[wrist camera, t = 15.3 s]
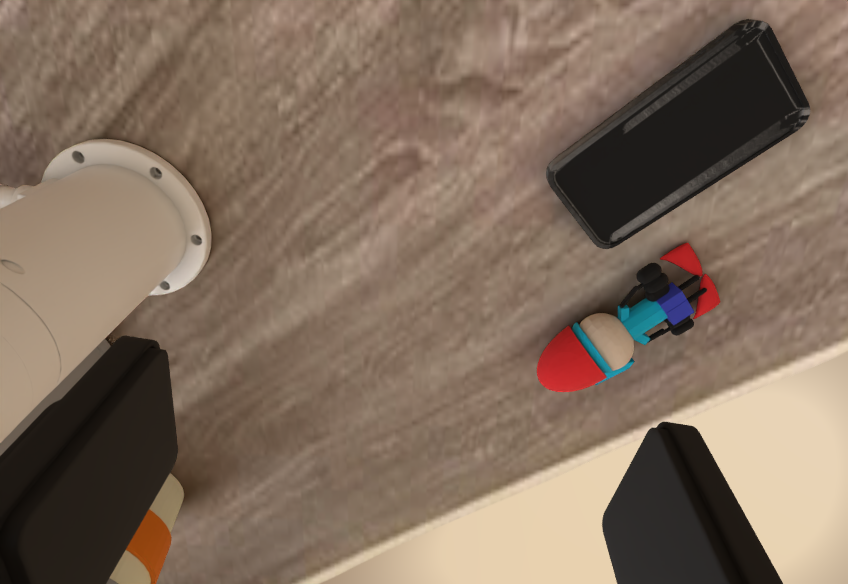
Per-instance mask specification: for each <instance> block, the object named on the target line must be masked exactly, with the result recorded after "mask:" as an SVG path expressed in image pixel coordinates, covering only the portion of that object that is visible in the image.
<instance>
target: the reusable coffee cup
mask: <svg viewBox="0 0 848 584" xmlns="http://www.w3.org/2000/svg"><path fill="white" fill-rule="evenodd" d="M183 499H184V491H183V488H182V486H181V484H180V483H179V481H178V480H177V479H176V478H175V477H174V476H173V475H172V474H171V473H170V474H169V476H168V477H167V479H166V481H165V483H164V484H163V486H162V488H161V490H160V491H159V493H158V495H157V496H156V498H155V500H154V502H153V503H152V505H151V507H150V509H149V510H148V512H147V514H146V516H145V517H144V519H143V521H142V522H141V524H140V526H139V528H138V529H137V531H136V533H135V535H134V536H133V538H132V540H131V542H130V543H129V545H128V547H127V548H126V550H125V552H124V554H123V555H122V557H121V559H120V561H119V562H118V564H117V566H116V568H115V569H114V571H113V573H112V574H111V576H110V578H109V580H108V581H107V583H106V584H156V582H157V579H158V577H159V574H160V571H161V569H162V566H163V563H164V561H165V558H166V555H167V553H168V550H169V547H170V545H171V535H170V533H171V531H172V528H173V525H174V523H175V520H176V518H177V515H178V512H179V510H180V507H181V505H182V502H183Z"/></svg>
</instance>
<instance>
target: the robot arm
mask: <svg viewBox="0 0 848 584" xmlns="http://www.w3.org/2000/svg"><path fill="white" fill-rule="evenodd" d="M210 249H211V228H210V223H209V218H208V216H207V213H206V210H205V208H204V205H203V203H202V201H201V200H200V198H199V196H198V195H197V193H196V191H195V190H194V188H193V187H192V186H191V185H190V183H189V182H188V181H187V180H186V179H185V177H184V176H183V175H182V174H181V173H180V172H178V171H177V170H176V169H175V168H174V167H173V166H172V165H171V164H170V163H168V162H167V161H165V160H164V159H162V158H161V157H159V156H158V155H156V154H155V153H153V152H151V151H149V150H147V149H144V148H142V147H140V146H138V145H135V144H131V143H128V142H125V141H121V140H112V139H96V140H88V141H85V142H82V143H79V144H76V145H74V146H72V147H70V148H67V149H65V150H63V151H62V152H61V153H59V154H58V155H57V156H56V157H55V158H53V159H52V161H51V162H50V164H49V165H48V167H47V168H46V170H45V172H44V175H43V178H42V182H41V183H40V184H38V185H36V186H30V185H22V186H19V187H18V188H13V187H9V186H8V185H3V184H0V443H1V442H2V441H3V440H4V439H5V438H6V437H7V436H8V435H9V434H10V433H11V432H12V431H13V430H14V429H15V428H16V426H17V425H18V424H19V423H20V422H21V421H22V420H23V419H24V418H25V417H26V416H27V415H28V414H29V413H30V412H31V411H32V410H33V409H34V408H35V407H36V406H37V405H38V404H39V403H40V402H41V401H42V400H43V399H44V398H45V397H46V396H47V395H48V394H49V393H51V392H52V391H53V390H54V389H55V388H56V387H57V386H58V385H59V384H60V383H61V382H62V381H63V380H64V379H65V378H66V377H67V376H68V375H69V374H70V373H71V372H72V371H73V370H74V369H75V368H76V367H77V366H78V365H79V364H80V363H81V362H82V361H83V360H84V359H85V358H86V357H87V356H88V355H89V354H90V353H91V352H92V351H93V350H94V349H95V348H96V347H97V346H98V345H99V344H100V343H101V342H102V341H103V340H104V339H105V338H106V337H107V336H108V335H109V334H110V333H111V332H112V331H113V330H114V329H115V328H116V327H117V326H118V325H119V324H120V323H121V322H122V321H123V320H124V319H125V318H126V317H127V316H128V315H129V314H130V313H131V312H132V311H133V310H134V309H135V308H136V307H137V306H138V305H139V304H140V303H141V302H142V301H143V300H144V299H145V298H146V297H147V296H149V295H163V294H167V293H171V292H174V291H176V290H179V289H181V288H183V287H185V286H186V285H187V284H188V283H190V282H191V281H192V280H193V279H194V278H195V277H196V276H197V275H198V274H199V273H200V271H201V270H202V269H203V267H204V265H205V263H206V262H207V260H208V257H209V253H210ZM177 453H178V445H177V436H176V426H175V417H174V408H173V398H172V389H171V379H170V370H169V361H168V354H167V352H166V350H162V349H160V347H159V344H158V342H157V341H155V340H149V339H143V338H137V337H130V336H122V337H120V338H119V339H118V340H116V341H115V343H114V344H113V345H112V346H111V347H110V348H109V349H108V350H107V351H106V352H105V353H104V354H103V355H102V356H101V357H100V358H99V359H98V361H97V362H96V363H95V364H94V365H93V366H92V367H91V368H90V369H89V370H88V371H87V372H86V373H85V374H84V375H83V376H82V378H81V379H80V380H79V381H78V382H77V383H76V384H75V385H74V386H73V387H72V388H71V389H70V390H69V391H68V392H67V393H66V394H65V396H64V397H63V398H62V399H61V400H58V401H56V402H54V403H52V404H51V405H50V406H48V407H47V408H46V409H45V410H44V411H43V412H42V413H41V414H40V415H39V416H38V417H37V418H36V419H35V420H34V421H33V422H32V423H31V424H30V426H29V427H28V428H27V429H26V430H25V431H24V432H23V433H22V434H21V435H20V436H19V437H18V438H17V439H16V440H15V441H14V442H13V443H12V444H11V445H10V446H9V447H8V448H7V450H6V451H5V452H4V453H3V454H2V455H1V456H0V584H106V583H107V581H108V580H109V578H110V576H111V574H112V573H113V571H114V569H115V568H116V566H117V564H118V562H119V561H120V559H121V557H122V555H123V554H124V552H125V550H126V548H127V547H128V545H129V543H130V542H131V540H132V538H133V536H134V535H135V533H136V531H137V529H138V528H139V526H140V524H141V522H142V521H143V519H144V517H145V516H146V514H147V512H148V510H149V509H150V507H151V505H152V503H153V502H154V500H155V498H156V496H157V495H158V493H159V491H160V490H161V488H162V486H163V484H164V483H165V481H166V479H167V477H168V476H169V474H170V472H171V470H172V469H173V467H174V464H175V462H176V458H177ZM602 527H603V533H604V537H605V541H606V544H607V548H608V551H609V555H610V559H611V562H612V566H613V569H614V573H615V577H616V580H617V584H783V583H782V581H781V579H780V577H779V575H778V573H777V572H776V570H775V568H774V566H773V565H772V563H771V561H770V559H769V557H768V555H767V554H766V552H765V550H764V548H763V546H762V545H761V543H760V541H759V539H758V537H757V536H756V534H755V532H754V530H753V528H752V527H751V525H750V523H749V521H748V519H747V518H746V516H745V514H744V512H743V510H742V508H741V507H740V505H739V503H738V501H737V499H736V498H735V496H734V494H733V492H732V490H731V489H730V487H729V485H728V483H727V481H726V480H725V478H724V476H723V474H722V472H721V471H720V469H719V467H718V465H717V463H716V462H715V460H714V458H713V456H712V454H711V453H710V451H709V449H708V447H707V445H706V443H705V442H704V440H703V438H702V436H701V434H700V433H699V432H698V430H697V429H696V428H695V427H693V426H688V425H683V424H676V423H670V422H662V423H660V424H659V425H658V426H657V427H656V428H651V429H650V430H649V431H648V432H647V434H646V436H645V438H644V440H643V442H642V443H641V445H640V447H639V449H638V451H637V453H636V455H635V457H634V458H633V460H632V462H631V464H630V466H629V468H628V469H627V472H626V473H625V475H624V477H623V479H622V481H621V483H620V484H619V487H618V488H617V490H616V492H615V494H614V496H613V498H612V500H611V501H610V503H609V505H608V507H607V509H606V511H605V513H604V515H603V522H602Z"/></svg>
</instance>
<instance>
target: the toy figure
mask: <svg viewBox="0 0 848 584" xmlns="http://www.w3.org/2000/svg"><path fill="white" fill-rule="evenodd" d="M660 260H667V261H669V262H671V263H674V264H676V265H678V266H679V267H681V268H683V269H685V270H686V271H688V272H690V273H691V274H693V275H695V276H693V277H692V278H690V279H689V280H687V281H686V282H684V283H683V284H681V285H680V286H678V287H677V286H675V285H674V284H673V283H670V284H669V285H668V284H667V283H668V277H667V275H665V274H664V273H661V267H660V266H659V265H658V264H656V263H650V264H648V265H647V266H645V267H644V268H642V269H641V270H639V271H638V273H637V280H638V281H639V282H640V283H641V284H640V285H638V286H635V287H634V288H633V289H632V290H631V291H630V293H629V294H628V295H627V296H626V298H625V299H624V300H623V301H622V302H621V304H620V305H618V317H615V316H613V315H610V314H606V313H597V314H593V315H590V316H588V317H586V318H585V319H584V320H583V321H582V322H581V323H580V325H579V324H578V323H577V322H576V323H575V324H574V325H573V327H572V328H571V327H570V326H568V327H566V328H565V329H563V330H562V331H561V332H560V333H559V334H558V335H557V336H556V337H555V338H554V339H553V340H552V341H551V342H550V343H549V344H548V345H547V347H546V348H545V350H544V351H543V353H542V355H541V357H540V359H539V362H538V366H537V376H538V379H539V381H540V383H541V384H542V385H543V386H544V387H546V388H547V389H549V390H552V391H556V392H572V391H576V390H581V389H584V388H587V387H590V386H592V385H594V384H595V385H597V384H599V383H601V382H603V381H605V380H607V379H609V378H611V377H613V376H615V375H617V374H619V373H621V372H623V371H625V370H627V369H629V368H630V366H631V365H632V364H633V363H634V362H635V361H634V360H633V359H632V358H631V357H632V355H633V352H634V341H633V340H636V341H638V342H640V343H642V344H644V345H646V344H647V343H648V342H650V341H652V340H654V339H655V338H657V337H659V336H661V335H663V334H665V333H667V332H668V331H670V330H671V333H672V334H674V335H680V334H682V333H684V332H685V331H687V330H689V329H691V328H692V327H693V326H694V322H693V320H692V319H690V315H691V314H692V313H694V310H693V308H692V307H691V305H690V302H692V301H693V300H695V299H696V298H698V303H697V309H696V313H695V316H694V318H693V319H695V318H697V317H699V316H701V315H703V314H705V313H706V312H708V311H710V310H711V309H713V308H715V307H716V306H717V305H718V304H719V303H720V299H719V296H718V293H717V290H716V287H715V285H714V284H713V282H712V280H711V279H710V278H709V277H708V276H707V275H706V274H704V275H703V274H702V268H701V265H700V262H699V260H698V258H697V256H696V254H695V253H694V251H693V249H692V248H691V246H690V245H689V243H685V244H683V245H680V246H678V247H677V248H675V249H673V250H672V251H670V252H669V253H667V254H666V255H664V256H663V257H661V258H660ZM700 276H703V277H702V279H701V283H700V289H699V291H698V292H696V293H695V294H693V295H691V296H690V297H688V298H687V299H686V297H685V295H684V294H683V292H682V290H683V289H685V288H686V287H688V286H689V285H691V284H693V283H694V282H696V281H697V280H699V278H700ZM643 286H644V289H645V291H646V292H645V297H646V298H645V299H643V300H642V301H640V302H639V303H637V304H636V305H634V306H633V307H631V308H630V309H629V307H628V306H627V305H626V304H627V302H628V301H629V300H630V299H631V297H632V296H633V295H634V294H635V293H636V291H637V290H639V289H640V288H642V287H643ZM663 320H664V321H665V322H666V323H667V325H668V326H669V327H668V328H667V329H665V330H664V329H661V330H659V331H657V332H655V333H654V334H652V335H650V336H648V335H647V334H645V332H646V331H648V330H650V329H651V328H653V327H654V326H656V325H657V324H659V323H660V322H662V321H663Z"/></svg>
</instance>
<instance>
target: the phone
mask: <svg viewBox="0 0 848 584" xmlns="http://www.w3.org/2000/svg"><path fill="white" fill-rule="evenodd" d="M809 115H810V106H809V103H808V101H807V99H806V97H805V95H804V93H803V91H802V89H801V87H800V85H799V83H798V81H797V79H796V77H795V75H794V73H793V71H792V69H791V67H790V65H789V63H788V61H787V59H786V57H785V54H784V52H783V50H782V48H781V46H780V44H779V42H778V40H777V38H776V36H775V34H774V32H773V30H772V28H771V27H770V26H769V25H768V24H767V23H765V22H763V21H758V20H749V19H747V20H743V21H740V22H738V23H736V24H735V25H733V26H732V27H730V28H729V29H728V30H726V31H725V32H724V33H722V34H721V35H720V36H718V37H717V38H716V39H714V40H713V41H712V42H710V43H709V44H708V45H706V46H705V47H704V48H702V49H701V50H700V51H698V52H697V53H696V54H694V55H693V56H692V57H690V58H689V59H688V60H686V61H685V62H684V63H682V64H681V65H680V66H678V67H677V68H675V69H674V70H673V71H671V72H670V73H669V74H667V75H666V76H665V77H663V78H662V79H661V80H659V81H658V82H657V83H655V84H654V85H653V86H651V87H650V88H649V89H647V90H646V91H645V92H643V93H642V94H641V95H639V96H638V97H637V98H635V99H634V100H633V101H631V102H630V103H629V104H627V105H626V106H625V107H623V108H622V109H621V110H619V111H618V112H617V113H615V114H614V115H613V116H611V117H610V118H609V119H607V120H606V121H604V122H603V123H602V124H600V125H599V126H598V127H596V128H595V129H594V130H592V131H591V132H590V133H588V134H587V135H586V136H584V137H583V138H582V139H580V140H579V141H578V142H576V143H575V144H574V145H572V146H571V147H570V148H568V149H567V150H566V151H564V152H563V153H562V154H560V155H559V156H558V157H556V158H555V159H554V160H553V161H552V162H551V163H550V164H549V166H548V167H547V171H546V176H547V180H548V182H549V185H550V186H551V188H552V189H553V191H554V192H555V193H556V195H557V196H558V197H559V199H560V200H561V201H562V203H563V204H564V205H565V206H566V208H567V209H568V210H569V212H570V213H571V214H572V216H573V217H574V218H575V219H576V221H577V222H578V223H579V225H580V226H581V227H582V229H583V230H584V231H585V232H586V234H587V235H588V236H589V238H590V239H591V240H592V242H593V243H594V244H595V245H596V246H597V247H600V248H603V249H609V248H613V247H615V246H617V245H619V244H620V243H622V242H623V241H625V240H627V239H628V238H630V237H631V236H633V235H634V234H636V233H638V232H639V231H641V230H642V229H644V228H645V227H647V226H649V225H650V224H652V223H653V222H655V221H656V220H658V219H660V218H661V217H663V216H664V215H666V214H667V213H669V212H671V211H672V210H674V209H675V208H677V207H678V206H680V205H682V204H683V203H685V202H686V201H688V200H689V199H691V198H693V197H694V196H696V195H697V194H699V193H700V192H702V191H703V190H705V189H707V188H708V187H710V186H711V185H713V184H714V183H716V182H718V181H719V180H721V179H722V178H724V177H725V176H727V175H729V174H730V173H732V172H733V171H735V170H736V169H738V168H740V167H741V166H743V165H744V164H746V163H747V162H749V161H751V160H752V159H754V158H755V157H757V156H758V155H760V154H762V153H763V152H765V151H766V150H768V149H769V148H771V147H773V146H774V145H776V144H777V143H779V142H780V141H782V140H784V139H785V138H787V137H788V136H790V135H791V134H793V133H795V132H796V131H798V130H799V129H800V128H801V127H802V126H803V125H804V124H805V123H806V121H807V120H808V117H809Z"/></svg>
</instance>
